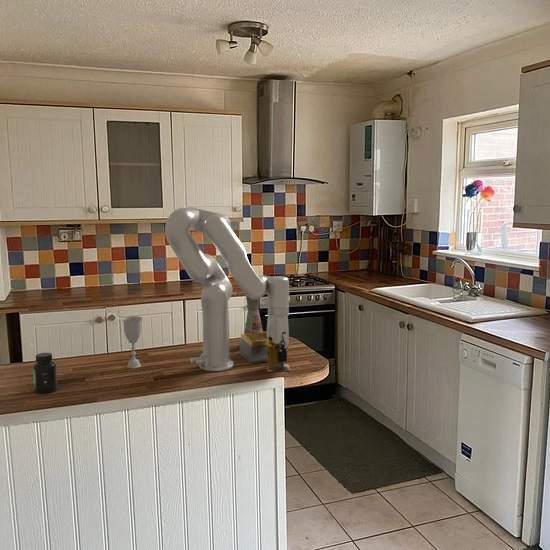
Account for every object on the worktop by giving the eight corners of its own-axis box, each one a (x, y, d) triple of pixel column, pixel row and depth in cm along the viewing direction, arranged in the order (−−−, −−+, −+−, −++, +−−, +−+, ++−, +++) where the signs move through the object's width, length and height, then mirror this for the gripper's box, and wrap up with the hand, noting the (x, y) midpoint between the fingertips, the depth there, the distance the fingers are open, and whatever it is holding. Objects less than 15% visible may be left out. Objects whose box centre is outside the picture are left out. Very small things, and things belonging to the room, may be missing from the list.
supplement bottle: (32, 394, 170) (29, 358, 168) (37, 387, 176) (35, 352, 174) (54, 393, 171) (52, 357, 169) (59, 386, 177) (57, 351, 176)
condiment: (265, 365, 199) (265, 334, 197) (288, 364, 200) (288, 333, 198) (267, 372, 192) (267, 339, 190) (291, 371, 193) (291, 338, 191)
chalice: (120, 367, 196) (117, 319, 193) (131, 362, 202) (129, 315, 200) (136, 370, 194) (134, 321, 191) (147, 364, 200) (146, 317, 197)
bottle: (253, 342, 230) (252, 277, 226) (268, 346, 224) (268, 279, 220) (238, 346, 224) (238, 280, 219) (254, 350, 218) (254, 282, 213)
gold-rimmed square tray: (251, 362, 202) (250, 342, 201) (239, 353, 214) (239, 333, 212) (290, 357, 208) (290, 337, 207) (277, 348, 220) (277, 329, 219)
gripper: (259, 306, 199) (259, 353, 202) (278, 316, 183) (278, 367, 186) (278, 305, 202) (278, 351, 205) (298, 314, 186) (297, 364, 189)
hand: (278, 358), depth 195 cm, fingers open, 6 cm apart
